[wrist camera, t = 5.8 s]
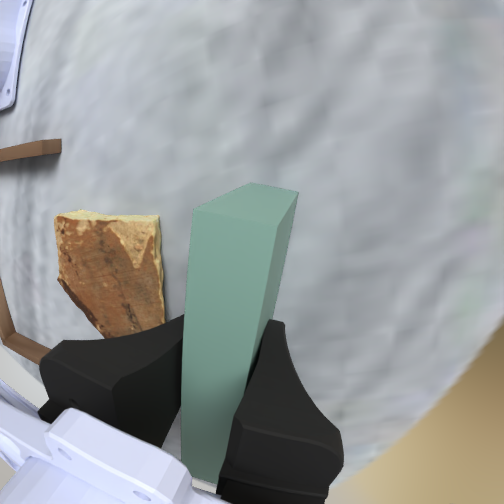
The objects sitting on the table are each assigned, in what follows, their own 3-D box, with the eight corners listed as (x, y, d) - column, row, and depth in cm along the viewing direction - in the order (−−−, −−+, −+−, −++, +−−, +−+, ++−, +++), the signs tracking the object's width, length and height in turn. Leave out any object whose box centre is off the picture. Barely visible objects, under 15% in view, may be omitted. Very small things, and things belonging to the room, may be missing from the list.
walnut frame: (-19, 155, 16) (-34, 158, 15) (61, 138, 14) (42, 140, 13) (13, 336, 21) (3, 344, 20) (96, 375, 19) (85, 387, 18)
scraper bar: (252, 402, 17) (223, 485, 11) (219, 393, 17) (181, 472, 11) (298, 192, 12) (277, 226, 7) (250, 182, 13) (193, 209, 7)
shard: (183, 386, 18) (172, 404, 16) (89, 356, 19) (75, 370, 18) (172, 213, 14) (153, 221, 13) (62, 206, 16) (41, 213, 14)
